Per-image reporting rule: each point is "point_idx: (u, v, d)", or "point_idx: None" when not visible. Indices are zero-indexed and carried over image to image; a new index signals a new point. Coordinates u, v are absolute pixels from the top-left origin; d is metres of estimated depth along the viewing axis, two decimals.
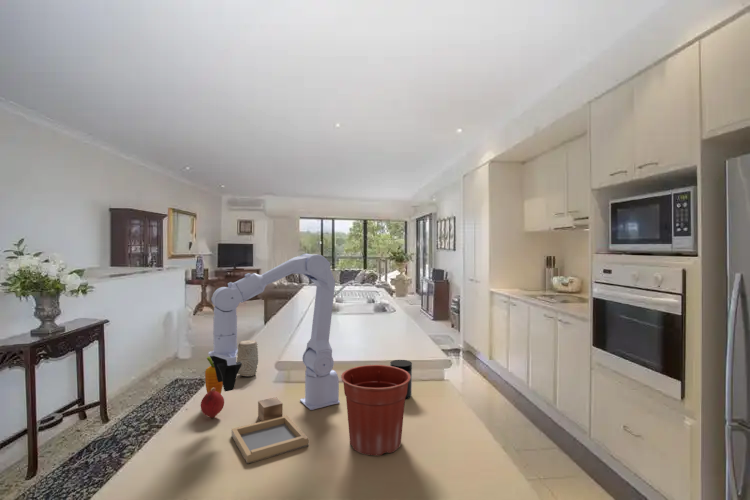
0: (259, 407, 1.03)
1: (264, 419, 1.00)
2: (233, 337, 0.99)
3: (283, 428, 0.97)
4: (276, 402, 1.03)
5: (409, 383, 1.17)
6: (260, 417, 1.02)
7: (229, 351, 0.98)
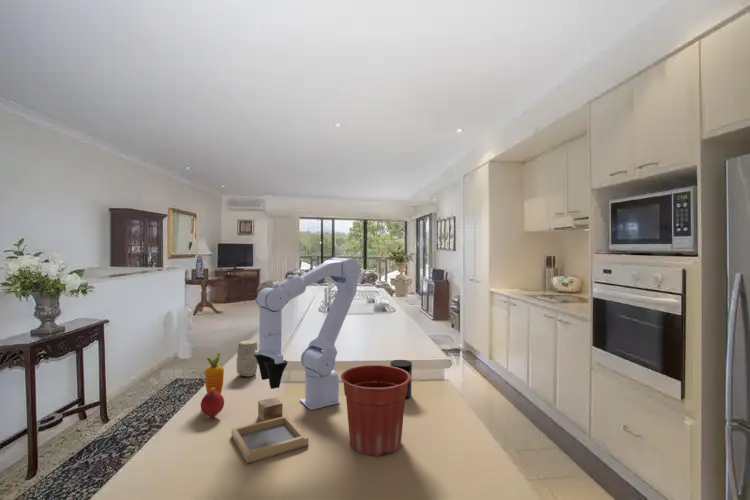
0: (259, 407, 1.03)
1: (264, 419, 1.00)
2: (278, 336, 1.02)
3: (283, 428, 0.97)
4: (276, 402, 1.03)
5: (409, 383, 1.17)
6: (260, 417, 1.02)
7: (275, 350, 1.01)
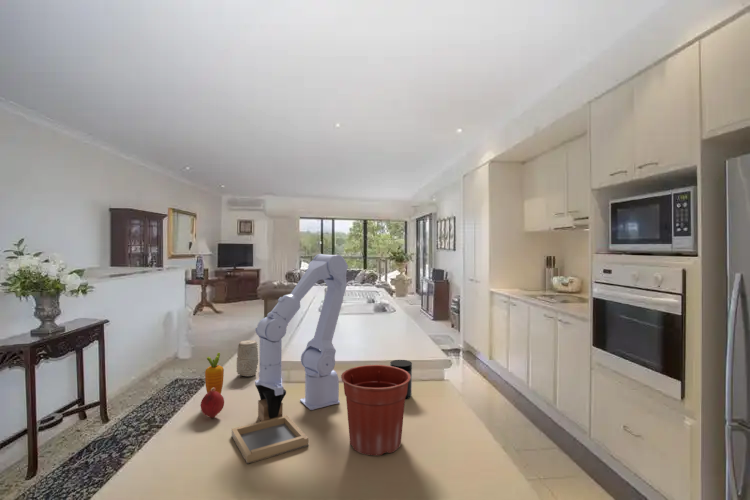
0: (259, 406, 1.03)
1: (264, 418, 1.00)
2: (278, 366, 1.02)
3: (283, 428, 0.97)
4: None
5: (409, 383, 1.17)
6: (260, 416, 1.02)
7: (275, 380, 1.01)
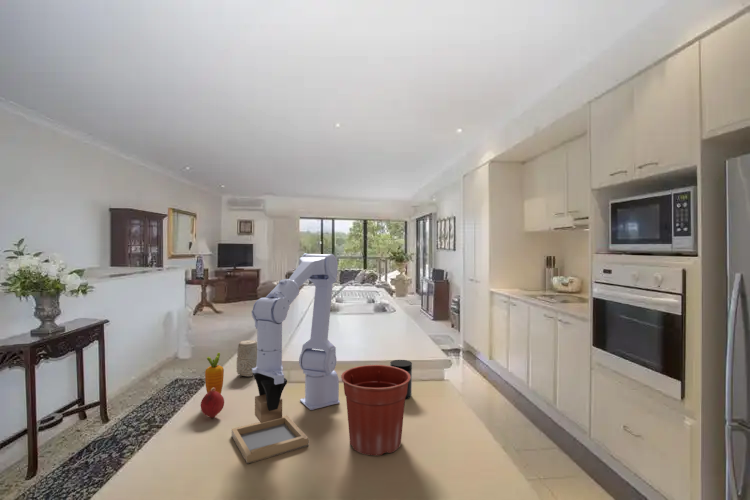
0: (256, 403, 0.91)
1: (261, 417, 0.88)
2: (278, 352, 0.90)
3: (283, 428, 0.97)
4: None
5: (409, 383, 1.17)
6: (257, 414, 0.90)
7: (274, 368, 0.89)
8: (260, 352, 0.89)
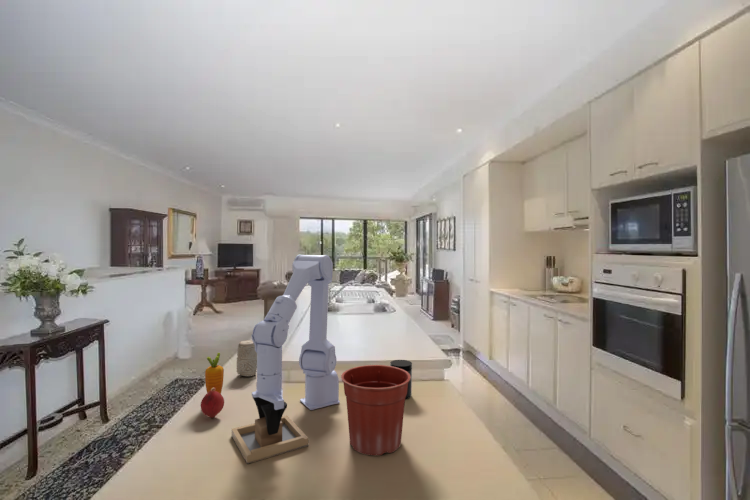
0: (256, 427, 0.91)
1: (261, 441, 0.88)
2: (278, 376, 0.90)
3: (283, 428, 0.97)
4: None
5: (409, 383, 1.17)
6: (257, 438, 0.90)
7: (274, 392, 0.89)
8: (260, 376, 0.89)
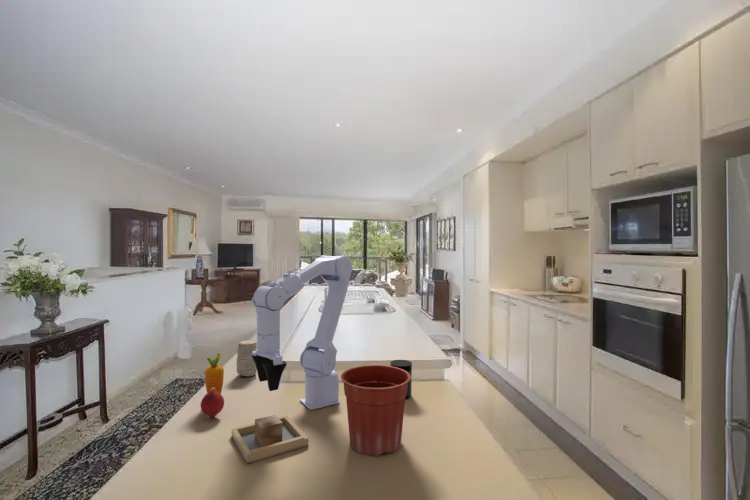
0: (256, 427, 0.91)
1: (261, 441, 0.88)
2: (277, 336, 0.98)
3: (283, 428, 0.97)
4: (275, 421, 0.91)
5: (409, 383, 1.17)
6: (257, 438, 0.90)
7: (273, 350, 0.97)
8: (260, 336, 0.97)
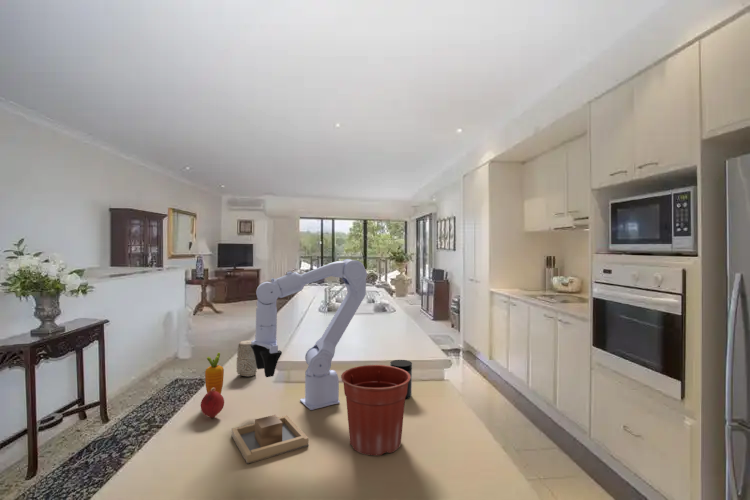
0: (256, 427, 0.91)
1: (261, 441, 0.88)
2: (274, 328, 1.08)
3: (283, 428, 0.97)
4: (275, 421, 0.91)
5: (409, 383, 1.17)
6: (257, 438, 0.90)
7: (270, 340, 1.07)
8: (258, 327, 1.06)
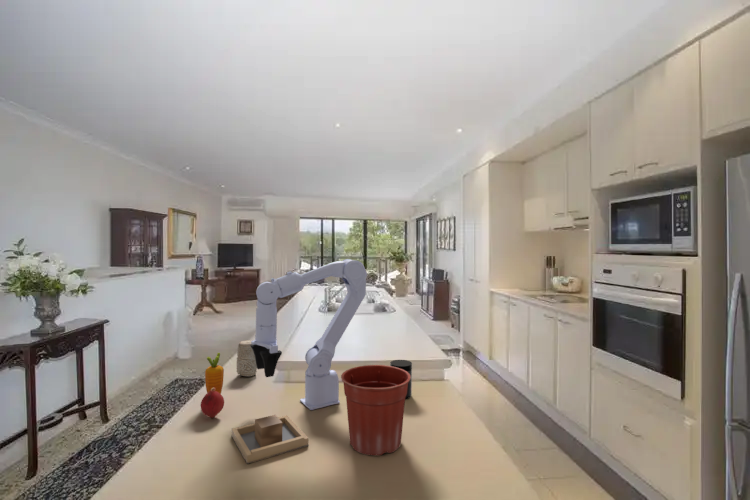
0: (256, 427, 0.91)
1: (261, 441, 0.88)
2: (274, 328, 1.08)
3: (283, 428, 0.97)
4: (275, 421, 0.91)
5: (409, 383, 1.17)
6: (257, 438, 0.90)
7: (270, 340, 1.07)
8: (258, 327, 1.06)
